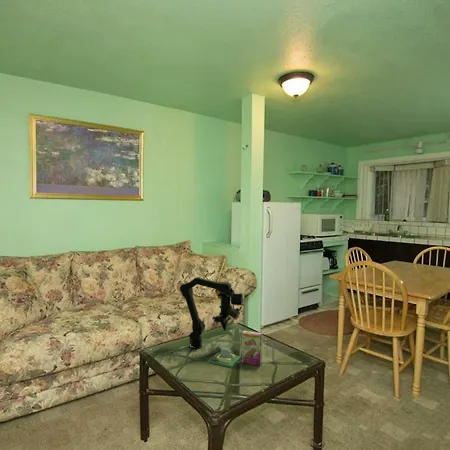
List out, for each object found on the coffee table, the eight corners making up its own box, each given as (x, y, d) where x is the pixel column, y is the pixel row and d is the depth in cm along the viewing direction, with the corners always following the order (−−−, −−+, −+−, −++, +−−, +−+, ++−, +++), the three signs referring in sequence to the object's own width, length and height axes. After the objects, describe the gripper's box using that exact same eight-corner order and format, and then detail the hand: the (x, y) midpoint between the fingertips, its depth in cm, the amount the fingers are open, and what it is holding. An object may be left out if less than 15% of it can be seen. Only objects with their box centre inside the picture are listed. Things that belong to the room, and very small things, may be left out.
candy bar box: (240, 363, 172) (240, 332, 172) (242, 359, 176) (243, 330, 176) (260, 366, 168) (261, 335, 168) (262, 362, 173) (263, 332, 173)
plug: (220, 359, 172) (220, 348, 172) (223, 357, 176) (223, 346, 176) (228, 361, 170) (228, 350, 170) (231, 358, 174) (231, 347, 174)
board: (208, 362, 171) (208, 356, 171) (218, 354, 183) (218, 348, 183) (232, 368, 165) (232, 361, 165) (240, 358, 177) (241, 352, 177)
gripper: (232, 309, 177) (231, 337, 177) (243, 302, 194) (243, 327, 194) (214, 307, 181) (213, 334, 181) (226, 300, 198) (226, 325, 198)
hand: (224, 330), depth 188 cm, fingers closed
